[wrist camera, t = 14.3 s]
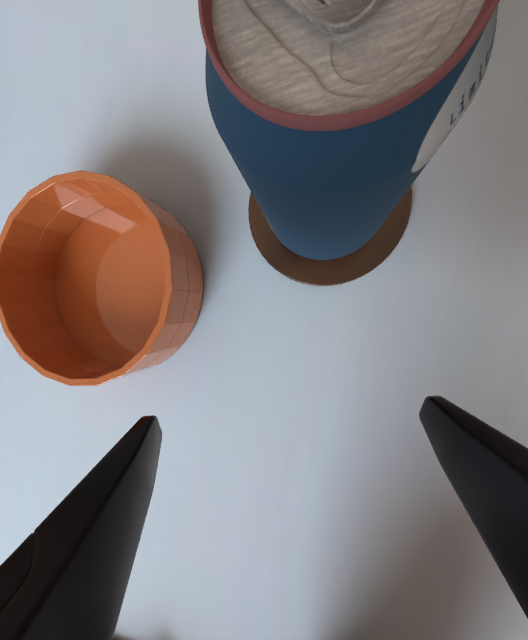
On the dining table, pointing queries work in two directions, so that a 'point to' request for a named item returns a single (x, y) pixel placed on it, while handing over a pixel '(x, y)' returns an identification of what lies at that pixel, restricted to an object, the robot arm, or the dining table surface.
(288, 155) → the soda can
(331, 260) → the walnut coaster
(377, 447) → the dining table surface
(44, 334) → the orange bowl
